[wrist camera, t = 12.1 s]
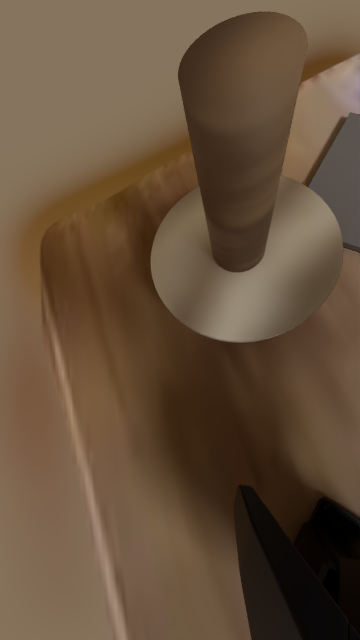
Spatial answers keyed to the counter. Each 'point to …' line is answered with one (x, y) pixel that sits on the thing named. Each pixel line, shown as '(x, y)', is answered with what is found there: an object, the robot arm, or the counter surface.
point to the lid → (245, 191)
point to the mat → (343, 181)
